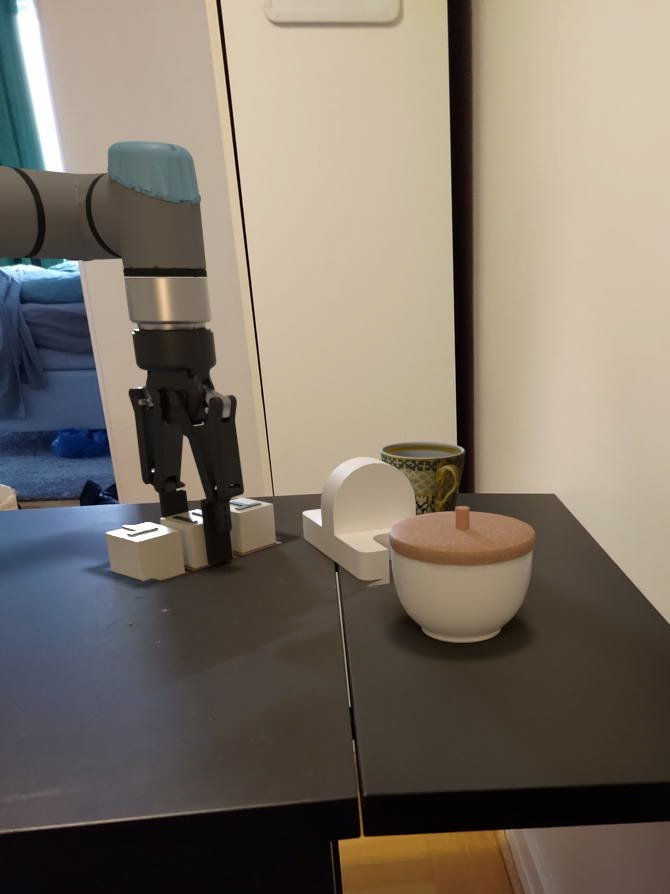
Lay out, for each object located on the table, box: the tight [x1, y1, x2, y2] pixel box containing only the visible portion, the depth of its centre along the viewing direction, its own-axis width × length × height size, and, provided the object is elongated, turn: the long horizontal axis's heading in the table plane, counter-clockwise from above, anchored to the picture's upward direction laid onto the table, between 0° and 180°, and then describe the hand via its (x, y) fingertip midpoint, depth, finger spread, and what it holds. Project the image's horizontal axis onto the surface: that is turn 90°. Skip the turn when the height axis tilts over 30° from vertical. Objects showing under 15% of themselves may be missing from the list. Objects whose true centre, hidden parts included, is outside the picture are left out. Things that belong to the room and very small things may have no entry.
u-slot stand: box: [301, 456, 416, 587], centre depth 96 cm, size 10×18×11 cm, turn 30°
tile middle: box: [159, 508, 234, 568], centre depth 93 cm, size 5×5×5 cm
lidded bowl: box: [389, 505, 536, 644], centre depth 77 cm, size 13×13×11 cm
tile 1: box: [105, 521, 186, 582], centre depth 88 cm, size 5×5×5 cm
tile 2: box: [230, 497, 277, 553], centre depth 98 cm, size 5×5×5 cm
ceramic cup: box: [379, 441, 466, 516], centre depth 104 cm, size 13×10×10 cm
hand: (200, 556), depth 94 cm, fingers open, 6 cm apart
